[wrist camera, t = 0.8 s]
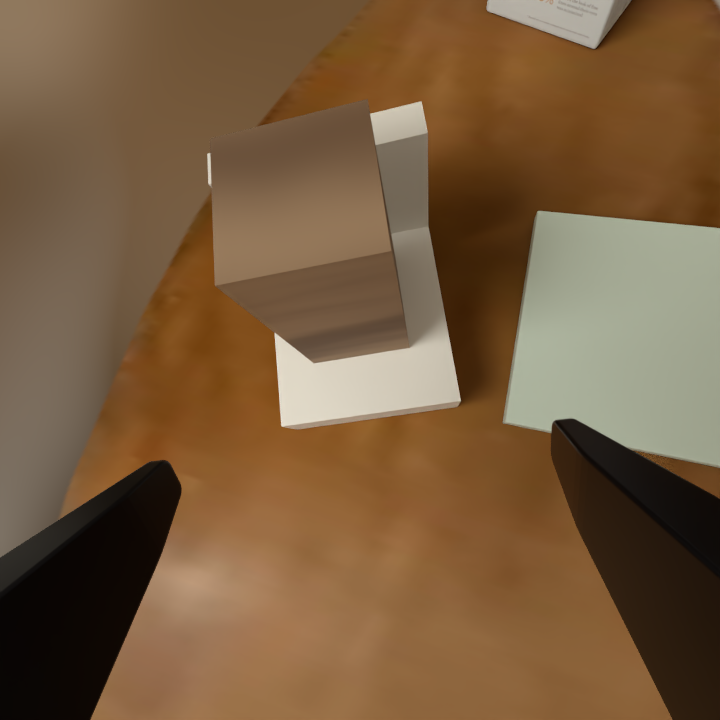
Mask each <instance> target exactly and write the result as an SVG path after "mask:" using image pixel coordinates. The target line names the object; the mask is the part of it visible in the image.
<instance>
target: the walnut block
mask: <svg viewBox="0 0 720 720" xmlns="http://www.w3.org/2000/svg"><path fill="white" fill-rule="evenodd" d="M210 157H211V186H212V215H213V243H214V272H215V286H216V287H217V288H219V289H220V290H221V291H222V292H224V293H225V294H226V295H228V296H229V297H230V298H231V299H233V300H234V301H235V302H236V303H238V304H239V305H240V306H242V307H243V308H244V309H245V310H247V311H248V312H249V313H250V314H252V315H253V316H254V317H256V318H257V319H258V320H259V321H261V322H262V323H263V324H264V325H266V326H267V327H268V328H270V329H271V330H272V331H273V332H275V333H276V334H277V335H278V336H280V337H281V338H282V339H284V340H285V341H286V342H287V343H289V344H290V345H291V346H292V347H294V348H295V349H296V350H298V351H299V352H300V353H301V354H303V355H304V356H305V357H306V358H308V359H309V360H310V361H312V362H313V363H320V362H326V361H332V360H338V359H344V358H350V357H357V356H363V355H369V354H375V353H381V352H387V351H393V350H399V349H406V348H410V346H409V340H408V334H407V327H406V321H405V315H404V309H403V302H402V296H401V290H400V284H399V277H398V271H397V265H396V259H395V253H394V247H393V241H392V236H391V230H390V224H389V219H388V213H387V207H386V202H385V196H384V190H383V185H382V179H381V173H380V168H379V162H378V156H377V151H376V145H375V139H374V134H373V128H372V122H371V116H370V111H369V105H368V99H366V100H362V101H358V102H354V103H350V104H346V105H342V106H338V107H334V108H330V109H326V110H322V111H318V112H314V113H310V114H306V115H302V116H298V117H294V118H290V119H286V120H282V121H278V122H274V123H270V124H266V125H262V126H258V127H254V128H250V129H247V130H242V131H238V132H234V133H231V134H226V135H222V136H219V137H214V138H211V139H210Z"/></svg>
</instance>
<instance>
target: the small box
mask: <svg viewBox="0 0 720 720" xmlns="http://www.w3.org/2000/svg"><path fill="white" fill-rule="evenodd" d="M630 2H631V0H488V1H487V11H488V12H491V13H494V14H497V15H500V16H502V17H505V18H508V19H511V20H514V21H516V22H519V23H522V24H525V25H528V26H530V27H533V28H536V29H539V30H542V31H544V32H547V33H550V34H553V35H556V36H558V37H561V38H564V39H567V40H570V41H573V42H575V43H578V44H581V45H584V46H587V47H590V48H592V49H596V48H597V46H598V45H599V44H600V42H601V41H602V39H603V38H604V37H605V35H606V34H607V33H608V31H609V30H610V29H611V27H612V26H613V25H614V23H615V22H616V21H617V19H618V18H619V17H620V15H621V14H622V13H623V11H624V10H625V9H626V7H627V6H628V4H629V3H630Z"/></svg>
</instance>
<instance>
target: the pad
mask: <svg viewBox="0 0 720 720" xmlns="http://www.w3.org/2000/svg"><path fill="white" fill-rule="evenodd" d="M568 418H573V419H576V420H578V421H580V422H582V423H584V424H585V425H587V426H589V427H591V428H593V429H594V430H596V431H598V432H600V433H602V434H603V435H605V436H607V437H609V438H611V439H613V440H614V441H616V442H618V443H620V444H622V445H623V446H625V447H627V448H629V449H631V450H635V451H640V452H645V453H650V454H655V455H659V456H664V457H669V458H674V459H679V460H684V461H689V462H693V463H698V464H703V465H708V466H713V467H718V468H720V228H712V227H702V226H691V225H681V224H671V223H660V222H650V221H640V220H629V219H619V218H609V217H598V216H588V215H578V214H567V213H557V212H547V211H538V212H537V214H536V216H535V219H534V225H533V231H532V238H531V244H530V250H529V257H528V263H527V270H526V276H525V282H524V289H523V295H522V302H521V308H520V314H519V321H518V327H517V334H516V340H515V346H514V353H513V359H512V366H511V372H510V379H509V385H508V391H507V398H506V404H505V411H504V417H503V423H504V424H509V425H514V426H519V427H523V428H528V429H533V430H538V431H543V432H548V433H551V431H552V423H553V421H555V420H559V419H568Z"/></svg>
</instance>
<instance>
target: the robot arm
mask: <svg viewBox="0 0 720 720" xmlns="http://www.w3.org/2000/svg"><path fill="white" fill-rule="evenodd" d="M551 456H552V460H553V463H554V466H555V469H556V472H557V474H558V477H559V480H560V483H561V486H562V488H563V491H564V494H565V497H566V499H567V502H568V505H569V508H570V510H571V513H572V516H573V518H574V521H575V524H576V526H577V528H578V530H579V533H580V535H581V537H582V539H583V541H584V543H585V545H586V547H587V549H588V551H589V553H590V555H591V557H592V559H593V561H594V563H595V565H596V567H597V569H598V571H599V573H600V575H601V577H602V579H603V581H604V583H605V585H606V587H607V589H608V591H609V593H610V595H611V597H612V599H613V601H614V603H615V605H616V607H617V609H618V611H619V613H620V615H621V617H622V619H623V621H624V623H625V625H626V627H627V629H628V631H629V633H630V635H631V637H632V639H633V641H634V643H635V645H636V647H637V649H638V651H639V653H640V655H641V657H642V659H643V661H644V663H645V665H646V667H647V669H648V671H649V673H650V675H651V677H652V679H653V681H654V683H655V685H656V687H657V689H658V691H659V693H660V695H661V697H662V699H663V701H664V703H665V705H666V707H667V709H668V711H669V713H670V715H671V717H672V719H673V720H720V499H719V498H718V497H716V496H714V495H712V494H710V493H709V492H707V491H705V490H703V489H701V488H699V487H698V486H696V485H694V484H692V483H690V482H689V481H687V480H685V479H683V478H681V477H680V476H678V475H676V474H674V473H672V472H670V471H669V470H667V469H665V468H663V467H661V466H660V465H658V464H656V463H654V462H652V461H651V460H649V459H647V458H645V457H643V456H641V455H640V454H638V453H636V452H634V451H632V450H631V449H629V448H627V447H625V446H623V445H622V444H620V443H618V442H616V441H614V440H613V439H611V438H609V437H607V436H605V435H603V434H602V433H600V432H598V431H596V430H594V429H593V428H591V427H589V426H587V425H585V424H584V423H582V422H580V421H578V420H576V419H573V418H568V419H559V420H555V421H553V423H552V431H551ZM180 496H181V484H180V482H179V480H178V478H177V476H176V474H175V472H174V470H173V468H172V466H171V464H170V463H169V462H168V461H166V460H159V461H151V462H149V463H147V464H145V465H144V466H142V467H141V468H139V469H137V470H136V471H134V472H133V473H131V474H130V475H128V476H127V477H125V478H123V479H122V480H120V481H119V482H117V483H116V484H114V485H113V486H111V487H109V488H108V489H106V490H105V491H103V492H102V493H100V494H99V495H97V496H95V497H94V498H92V499H91V500H89V501H88V502H86V503H84V504H83V505H81V506H80V507H78V508H77V509H75V510H74V511H72V512H70V513H69V514H67V515H66V516H64V517H63V518H61V519H60V520H58V521H56V522H55V523H53V524H52V525H50V526H49V527H47V528H46V529H44V530H42V531H41V532H40V533H38V534H36V535H35V536H33V537H32V538H30V539H29V540H27V541H25V542H24V543H22V544H21V545H19V546H18V547H16V548H14V549H13V550H11V551H10V552H9V553H7V554H5V555H4V556H2V557H1V558H0V720H90V719H91V717H92V715H93V712H94V710H95V708H96V705H97V703H98V701H99V699H100V696H101V694H102V692H103V689H104V687H105V685H106V682H107V680H108V678H109V675H110V673H111V671H112V668H113V666H114V664H115V661H116V659H117V657H118V654H119V652H120V650H121V647H122V645H123V643H124V641H125V638H126V636H127V634H128V631H129V629H130V627H131V624H132V622H133V620H134V617H135V615H136V613H137V610H138V608H139V606H140V603H141V601H142V599H143V596H144V594H145V592H146V589H147V587H148V585H149V582H150V580H151V578H152V576H153V573H154V571H155V569H156V566H157V564H158V561H159V559H160V557H161V554H162V551H163V548H164V546H165V543H166V540H167V536H168V533H169V530H170V527H171V524H172V521H173V518H174V515H175V512H176V509H177V506H178V502H179V499H180Z"/></svg>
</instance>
